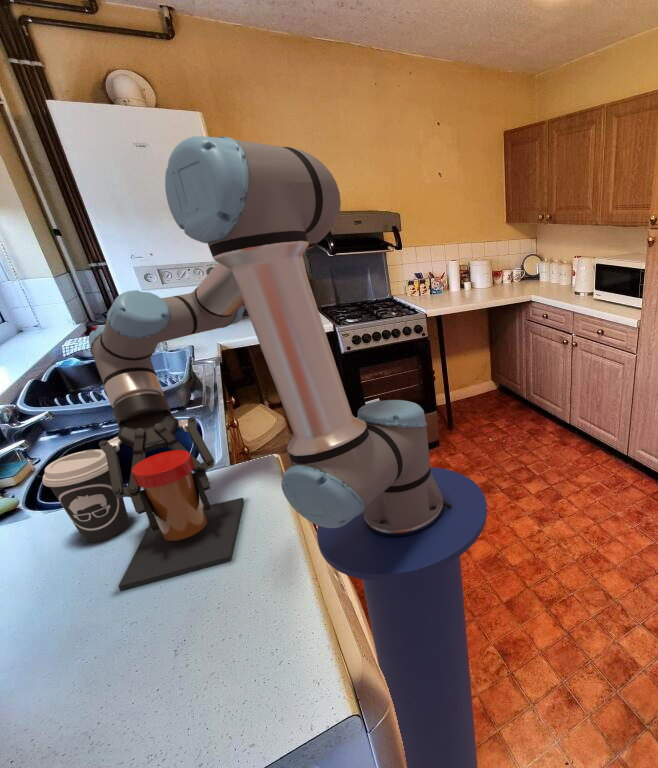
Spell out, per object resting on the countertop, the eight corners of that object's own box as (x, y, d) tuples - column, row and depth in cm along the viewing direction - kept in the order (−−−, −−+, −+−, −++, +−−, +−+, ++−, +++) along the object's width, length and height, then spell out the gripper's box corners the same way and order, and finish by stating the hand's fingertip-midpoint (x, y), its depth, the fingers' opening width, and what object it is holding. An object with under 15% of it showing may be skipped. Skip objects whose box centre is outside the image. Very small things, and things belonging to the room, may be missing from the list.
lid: (198, 457, 78) (195, 446, 77) (188, 480, 71) (184, 468, 71) (144, 468, 75) (140, 456, 74) (128, 493, 69) (123, 480, 68)
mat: (244, 501, 89) (242, 497, 88) (230, 560, 73) (229, 556, 73) (154, 522, 83) (152, 517, 83) (120, 591, 68) (118, 586, 68)
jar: (210, 512, 82) (190, 451, 77) (203, 534, 76) (181, 470, 71) (168, 521, 79) (144, 460, 74) (157, 545, 73) (131, 480, 69)
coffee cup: (152, 516, 85) (126, 449, 80) (102, 551, 76) (68, 478, 71) (112, 511, 87) (83, 445, 81) (58, 545, 78) (21, 473, 72)
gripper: (203, 396, 88) (246, 498, 83) (70, 428, 75) (110, 551, 70) (202, 378, 82) (247, 486, 77) (57, 409, 69) (100, 542, 64)
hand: (182, 517), depth 74 cm, fingers closed on jar, 7 cm apart
